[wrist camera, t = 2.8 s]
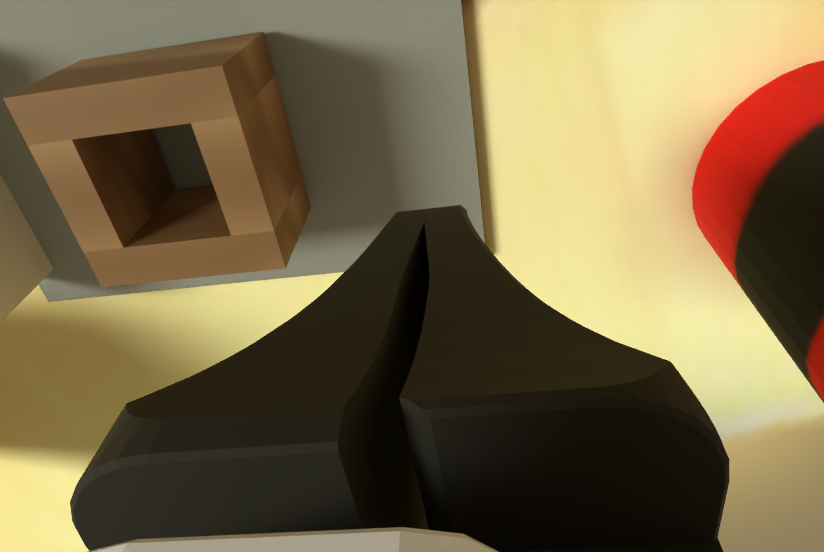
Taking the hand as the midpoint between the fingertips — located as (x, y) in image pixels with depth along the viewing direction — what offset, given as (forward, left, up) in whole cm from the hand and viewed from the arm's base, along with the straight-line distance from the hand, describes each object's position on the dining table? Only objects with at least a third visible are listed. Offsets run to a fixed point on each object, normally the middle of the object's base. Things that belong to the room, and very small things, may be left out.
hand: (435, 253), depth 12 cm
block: (0, +8, -10) cm, 13 cm away
